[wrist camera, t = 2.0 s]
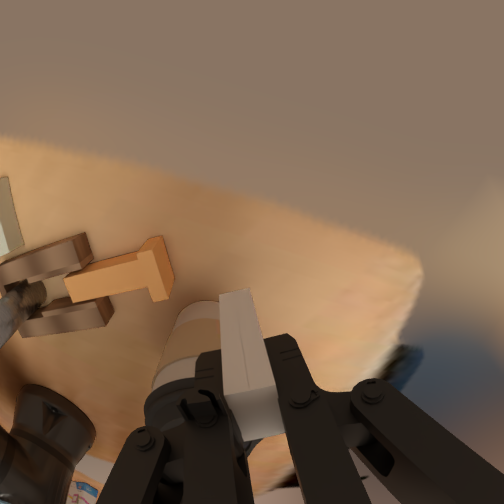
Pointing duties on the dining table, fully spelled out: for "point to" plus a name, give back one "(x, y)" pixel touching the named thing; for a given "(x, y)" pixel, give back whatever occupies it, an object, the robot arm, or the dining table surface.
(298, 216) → the dining table surface
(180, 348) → the coffee cup
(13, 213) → the square frame
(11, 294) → the dark grey cylinder
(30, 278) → the socket block
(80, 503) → the ink box
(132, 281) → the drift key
